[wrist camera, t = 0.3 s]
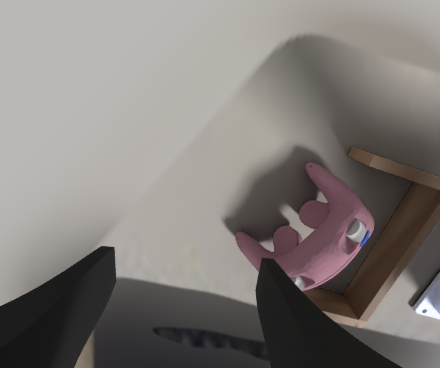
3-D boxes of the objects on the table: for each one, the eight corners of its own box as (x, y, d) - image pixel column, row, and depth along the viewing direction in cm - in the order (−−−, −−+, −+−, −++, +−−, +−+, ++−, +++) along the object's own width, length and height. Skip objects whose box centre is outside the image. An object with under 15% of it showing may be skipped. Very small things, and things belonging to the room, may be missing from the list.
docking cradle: (429, 173, 21) (462, 185, 18) (346, 302, 26) (362, 328, 23) (352, 146, 20) (374, 155, 17) (280, 285, 25) (289, 310, 22)
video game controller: (256, 247, 25) (297, 314, 20) (226, 235, 22) (265, 310, 17) (332, 176, 23) (400, 232, 17) (309, 152, 20) (383, 211, 15)
